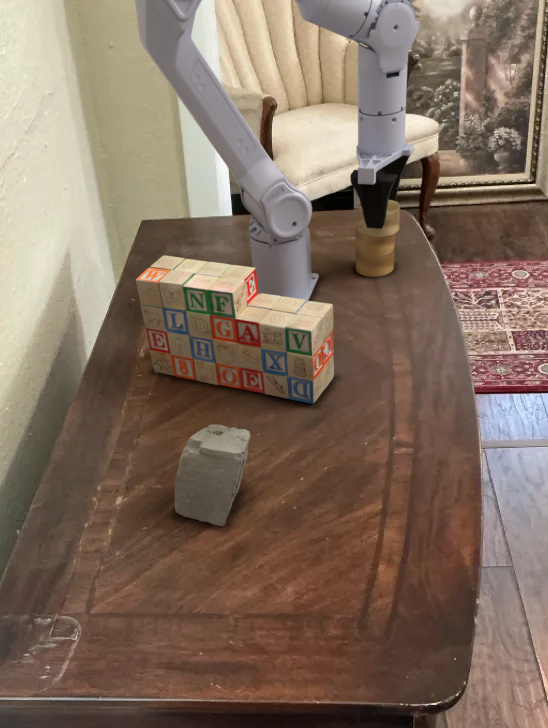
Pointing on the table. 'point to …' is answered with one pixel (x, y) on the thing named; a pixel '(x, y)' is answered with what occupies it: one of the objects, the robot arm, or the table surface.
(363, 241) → the pile chip top
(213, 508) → the mineral specimen
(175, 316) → the stack of blocks
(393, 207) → the tan wooden cylinder
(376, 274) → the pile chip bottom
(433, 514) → the table surface
